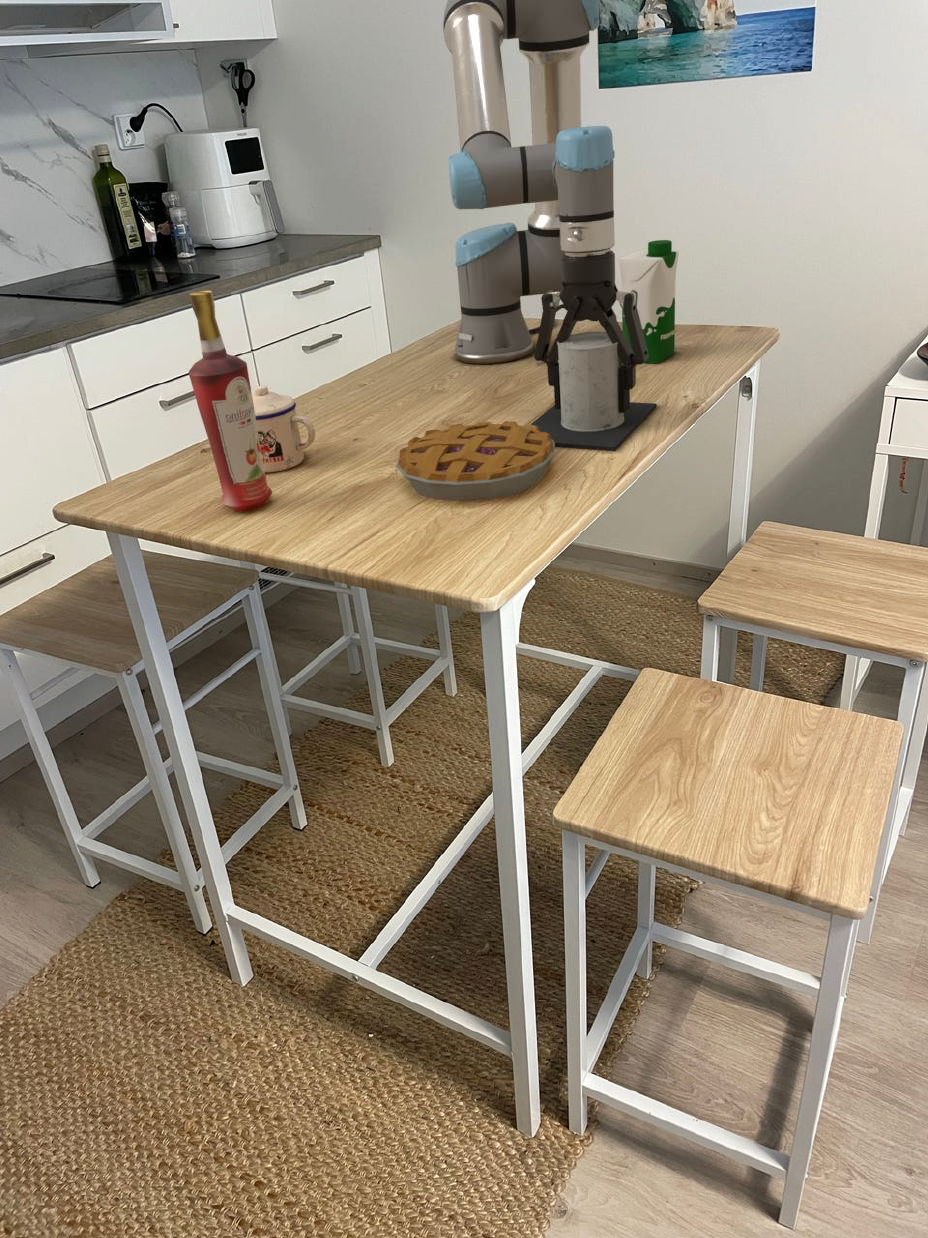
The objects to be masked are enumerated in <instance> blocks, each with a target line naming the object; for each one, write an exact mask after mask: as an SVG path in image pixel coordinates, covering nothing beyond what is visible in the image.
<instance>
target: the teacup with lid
mask: <svg viewBox="0 0 928 1238" xmlns="http://www.w3.org/2000/svg"><path fill="white" fill-rule="evenodd" d="M253 392H254V393H252V397H253V404H254V410H255V417H256V424H257V431H258V437H259V443H260V448H261V454H262V460H263V465H264V470H265V473H276V472H281V471H287V470H289V469H291V468H294V467H296V466H298V465H299V464H301V463H302V462H303V460H304V458H305V454H304V450H306V449H308V448H309V447H311V446H312V444H314V441H315V438H316V429H315V425H314V423H313V422H312V421H311V420H310V419H309V418H308V417H306V416H303V415H297V413H296V412H297V411H296V406H297V403H296V402H295V400H294V398H293V397H291V396H289V395H286V394H279V393H277V392H274V391H269V388H268V386H267V385H258V386H256V387H254V389H253ZM299 423H301V424H303V425H304V426H305V427H306V429H307V432H308V437H307V441H306V442H304V443H302V438H301V433H300V429H299Z"/></svg>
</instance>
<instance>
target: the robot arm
mask: <svg viewBox="0 0 928 1238" xmlns="http://www.w3.org/2000/svg"><path fill="white" fill-rule="evenodd" d="M599 26H600V6H599V0H447V2H446V5H445V8H444V12H443V21H442V28H443V29H442V30H443V39H444V43H445V46H446V48H447V50H448V51H449V52H450V54H451V57H452V65H453V66H452V69H453V80H454V92H455V103H456V115H457V125H458V135H459V148H460V150H459V151H460V152H457V153H453V154H451V155H450V156H449V158H448V172H449V184H450V194H451V202H452V205H453V206H454V208H456V209H457V210H484V209H491V208H500V207H506V206H516V205H522V204H523V205H524V204H534V210H533V212H532V213H531V214H530V215H529V216H528V218H527V229H524V230H523V229H522V230H518V228H517V226H516V223H513V222H504V223H497V224H492V225H487V226H484V227H480V228H476V229H473V230H471V231H469V232H466V233H464V234H462V235H461V236H459V237H458V238H457V240H456V242H455V263H454V264H455V267H456V268H457V269H456V270H457V281H458V294H459V305H460V312H461V313H460V314H461V316H460V317H461V318H460V323H459V326H458V327H459V328H458V333H457V337H456V343H455V349H454V350H455V358H456V360H458V361H460V362H463V363H467V364H474V365H475V364H477V365H486V364H498V363H499V364H500V363H506V362H511V361H516V360H519V359H522V358H525V357H527V356H529V355H531V354H532V353H533V351H534V347H533V345H534V344H533V339H532V336H531V334H535V333H538V335H537V339H536V340H537V341H536V347H535V351H534V360H535V361H536V362H543V363H544V364H546V367H547V383H548V386H550V387H553V395H554V396H553V397H554V405H555V409H561V398H560V377H559V356H558V345H557V341H558V342H559V343H563V342H564V341H566V340H567V339H569V337H570V335H572V332H573V330H574V328H575V326H576V324H577V322H584V321H589V322H598V323H599V324H600V326H601V327H602V328H603V330H604V332H606V333H607V335H608V336H609V338H610V340H611V342H612V344H614V343H618V344H617V354H618V356H619V357H620V359H621V361H622V363H623V366H621V367H620V368H619V413H625V412H626V411H627V410H628V409H629V408H630V402H631V390H633V389H634V388H635V386H636V385H637V366H638V365H642V364H643V363H645V362H644V361H645V360H647V359H648V357H649V354H648V350H647V346H646V342H645V338H644V334H643V330H642V326H641V322H640V318H639V314H638V310H637V299H638V293H637V292H636V291H635V290H632V291H631V292H622V290H619V289H618V288H617V285H616V254H615V252H614V251H613V250H612V249H613V248H614V247H615V245H616V238H615V237H616V236H615V234H616V233H615V210H614V206H615V205H614V158H615V155H616V154H615V149H614V142H613V141H614V140H613V132H612V129H611V128H610V127H609V126H607V125H589V126H582V76H581V75H582V71H581V70H582V69H581V56H582V54H583V53H584V52H585V50H587V48H588V46H589V45H590V32H594V31H595V30H597V29H598V28H599ZM515 39H518V51H519V52H520V53H521V54H522V55H523V56H524V57H525V58H526V59H527V61H528V70H529V93H530V97H529V98H530V117H531V119H530V120H531V140H532V141H531V142H532V144H531V145H522V146H521V145H520V146H512V140H511V131H510V130H511V129H510V121H509V112H508V103H507V96H506V86H505V77H504V69H503V61H502V60H503V59H502V52H501V51H502V50H501V47H502V44H503V43H504V40H515ZM539 295H541V299H540V300H541V306H542V312H541V318H540V319H541V320H540V324H539V326H537V327H534V328H530V329H529V328H528V325H527V322H526V320H525V318H524V314H523V313H522V305H521V304H522V303H521V297H527V296H529V297H530V296H539ZM560 301H561V304H560ZM617 301H618V303H619V306H620V308H621V309H622V308H623V311H624V317H625V321H626V325H627V329H628V333H629V337H630V341H631V344H632V348H633V351H632V349H631V347H630V345H629V343H628V341H627V339H626V337H625V335H624V333H623V331H622V327H621V326H620V324H619V322H618V320H617V315H616V312H615V311H614V309H613V308H612V307H613V306H614V305H615V303H616V302H617ZM562 309H564V310H565V311H566V314H565V315H564V318H563V320H562V324H561V326H560V329H559V331H558V333H557V335H556V337H555V339H554V341H553V343H552V346H551V341H552V335H553V330H554V325H555V320H556V314H557V312H558V311H561V310H562ZM550 346H551V349H550ZM633 352H634V353H633Z"/></svg>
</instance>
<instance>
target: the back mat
mask: <svg viewBox="0 0 928 1238" xmlns="http://www.w3.org/2000/svg"><path fill="white" fill-rule="evenodd" d="M657 405H658V403H656V402H655V403H652V402H637V401H636V402H634V401H633V402H631V401H630V408H629V409H628V410H627V411H626V412H625V413H624V422H623V423H622V424H621V425H619V426H617V427H615V428H612V429H609V430H604V431H597V432H578V431H572V430H568V429H566V428H564V427H563V426H562V425H561V420H562V419H561V409H555V404H554V405H552V406H551V407H549V408H548V409H547V410H546V411H545V412H544V413H543V414H541V415H540V416H539V417H538V418H536V419H535V420H534V421H533V422H532V423H529V424H530V425H534V426H538V427H539V430H540V432H547V433H548V434H550V437H551V439H552V440H553V441H554V442H555V448H569V449H582V450H583V449H584V450H596V451H610V452H615V451H617V450H618V448H620V446H621V445H622V444H623V443H625V441H626V440H627V439H628V438H629V437H630V436H631V435H632V434H633V433H634V432H635V431H636V430H637V428H638V427H639V426H640V425H641V424H642V423H644V421H645V420H646V419H647V418H648V417H649V416H650V415H651V414H652V413H653V412H654V411H655V409H657V407H658V406H657Z"/></svg>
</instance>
